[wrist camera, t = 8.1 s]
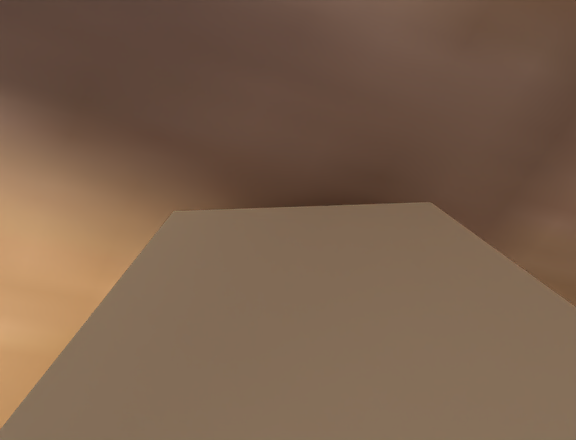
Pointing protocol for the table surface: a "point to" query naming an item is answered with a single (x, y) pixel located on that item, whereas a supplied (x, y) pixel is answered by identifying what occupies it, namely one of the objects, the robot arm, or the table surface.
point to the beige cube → (314, 336)
